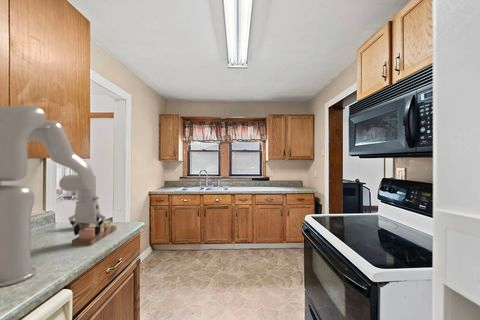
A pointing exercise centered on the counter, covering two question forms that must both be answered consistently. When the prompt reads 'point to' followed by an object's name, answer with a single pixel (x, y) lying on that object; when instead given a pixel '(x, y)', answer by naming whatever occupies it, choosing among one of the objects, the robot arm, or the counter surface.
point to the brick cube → (87, 233)
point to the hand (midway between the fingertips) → (87, 234)
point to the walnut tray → (104, 231)
